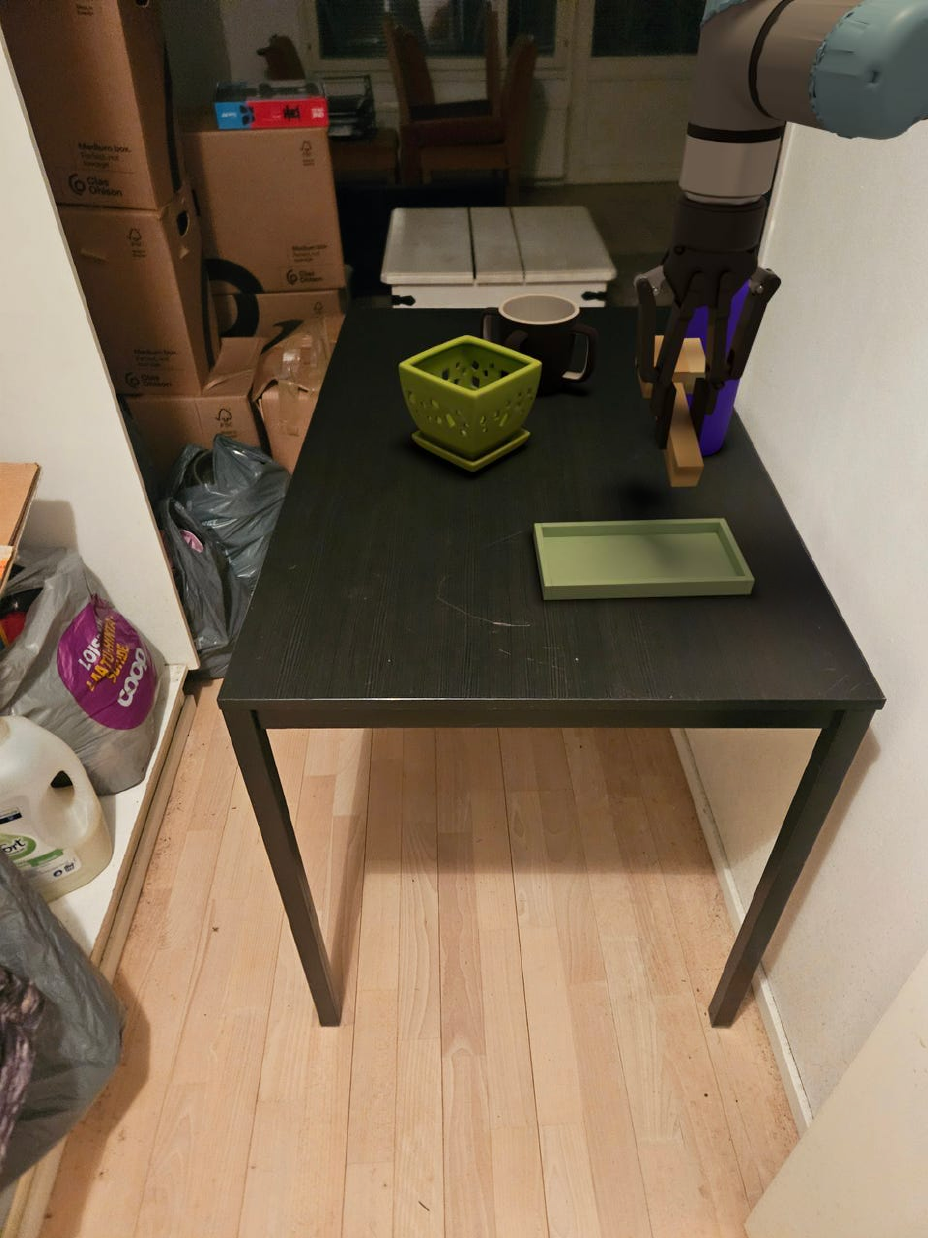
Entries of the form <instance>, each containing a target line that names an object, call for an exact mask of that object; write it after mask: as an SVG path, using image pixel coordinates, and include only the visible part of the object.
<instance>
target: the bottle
mask: <svg viewBox="0 0 928 1238" xmlns="http://www.w3.org/2000/svg"><path fill="white" fill-rule="evenodd" d="M749 281H750V279H749V280H748V281H747V282H746V283H745V284H744V285H743V287H742V288H741V289H740V290H739V291H738V292H737V293H736V294H735V295H734V297H733V298H732V302H731V314H730V317H729V319H728V329H727V342H726V354H725V359H726V356H727V353H728V350H729V347H730V344H731V341H732V338H733V334H734V331H735V328H736V325H737V322H738V319H739V316H740V313H741V310H742V307H743V304H744V301H745V298H746V295H747V293H748V291H749V288H748V283H749ZM707 325H708V307H706V306H703V307H700V308H696V310H695V313H694V316H693V319H692V320H691V321H690V323H689V326H688V329H687V332H686V335H685V338H700V342H701V345H702V348H703V352H704V355H705V356H706V340H707ZM740 382H741V378H740V379H739V380H736V381H734V380H729V381H726V382H724V383H725V387H724V388H723V389H722V390H720V391H719V394H718V398H717V403H716V408H715V411H714V413H713V414H712V415H705V417H704V422H703V427H702V432H701V437H700V441H699V449H700V453H701V457H705V456H711V455H713V454H716V453H717V452H718V451H719V450H721V448H722V446H723V443H724V442H725V438H726V435H727V432H728V428H729V425H730V421H731V418H732V413H733V409H734V406H735V402H736V398H737V394H738V389H739V385H740ZM692 395H693V394H685V396H686V400H687V403H688V407H689V410H690V405H691V400H692Z"/></svg>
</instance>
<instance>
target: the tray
mask: <svg viewBox="0 0 928 1238" xmlns="http://www.w3.org/2000/svg"><path fill="white" fill-rule="evenodd" d="M533 542H534V549H535V555H536V561H537V567H538V572H539V573H538V574H539V579H540V586H541V591H542V597H543V600H544V601H554V600H555V601H556V600H557V601H558V600H560V601H561V600H591V599H625V598H628V599H629V598H658V597H659V598H660V597H663V598H664V597H695V596H700V597H701V596H728V595H731V596H732V595H751V594H752V591H753V587H754V584H755V578H754V576H753V574H752V571H751V570H750V568H749V565H748V563H747V561H746V560H745V557H744V556H743V553H742V551H741V549H740V547H739V545H738V543H737V541H736V539H735V537H734V535H733V533H732V531H731V529H730V527H729V525H728V522H727V521H726V519H725V518H724V517H722V518H717V517H716V518H683V519H681V518H680V519H677V518H676V519H645V520H644V519H643V520H610V521H609V520H606V521H605V520H604V521H572V522H571V521H570V522H567V521H566V522H541V523H539V522H538V523H536V522H535V523H533Z"/></svg>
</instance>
